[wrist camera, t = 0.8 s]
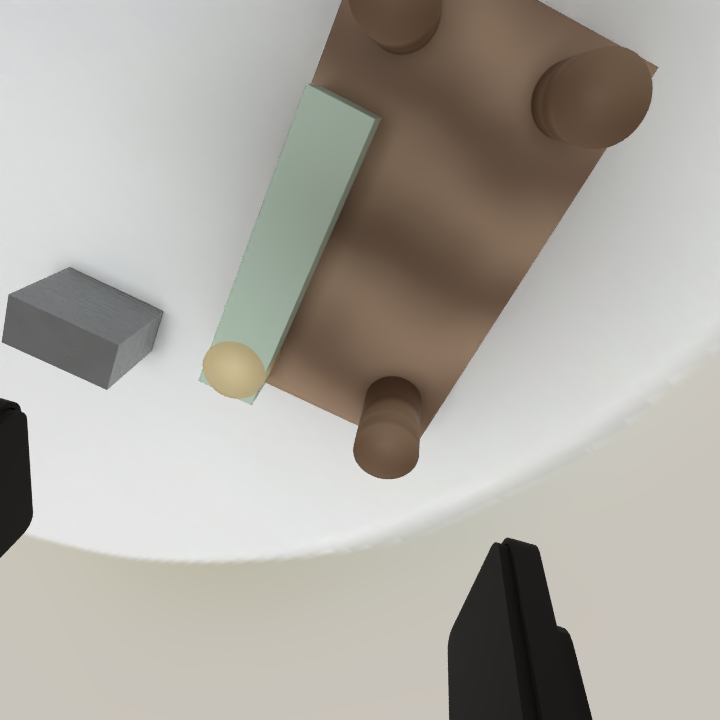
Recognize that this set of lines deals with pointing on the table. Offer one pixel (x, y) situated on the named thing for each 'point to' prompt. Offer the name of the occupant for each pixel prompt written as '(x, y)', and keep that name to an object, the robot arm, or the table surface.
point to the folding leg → (288, 239)
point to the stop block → (81, 326)
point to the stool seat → (446, 197)
